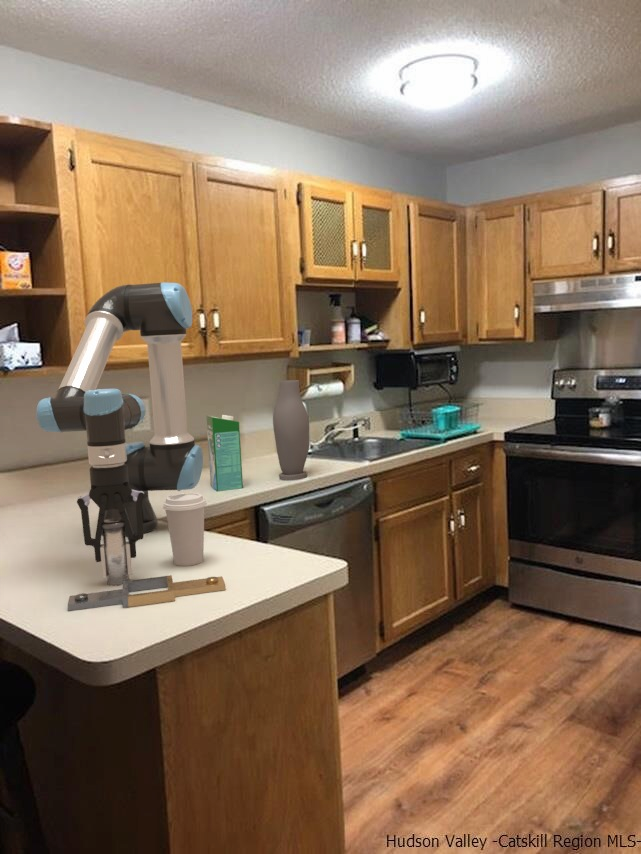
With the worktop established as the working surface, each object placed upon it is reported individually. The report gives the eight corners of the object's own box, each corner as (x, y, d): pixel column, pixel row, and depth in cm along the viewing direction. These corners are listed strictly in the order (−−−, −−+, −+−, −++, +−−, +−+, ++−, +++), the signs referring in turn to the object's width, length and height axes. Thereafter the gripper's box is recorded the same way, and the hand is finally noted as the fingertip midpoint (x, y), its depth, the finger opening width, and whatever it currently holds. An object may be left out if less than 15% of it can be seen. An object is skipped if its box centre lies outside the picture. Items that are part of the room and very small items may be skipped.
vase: (297, 482, 243) (293, 381, 240) (267, 479, 250) (262, 381, 246) (317, 475, 254) (313, 379, 251) (288, 473, 261) (284, 379, 258)
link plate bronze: (128, 590, 141) (128, 580, 141) (221, 578, 146) (220, 569, 145) (128, 607, 132) (127, 596, 132) (227, 593, 136) (226, 583, 136)
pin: (105, 579, 148) (100, 519, 147) (131, 576, 150) (126, 517, 148) (104, 587, 143) (98, 526, 142) (131, 584, 145) (126, 523, 143)
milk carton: (243, 488, 237) (238, 414, 234) (216, 491, 234) (212, 417, 231) (236, 483, 245) (231, 412, 242) (210, 486, 242) (206, 414, 239)
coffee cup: (191, 552, 165) (187, 490, 163) (218, 559, 159) (214, 494, 157) (158, 563, 158) (153, 498, 156) (186, 571, 152) (181, 503, 150)
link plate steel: (71, 597, 138) (70, 587, 138) (167, 585, 143) (166, 575, 143) (66, 615, 129) (65, 605, 129) (169, 601, 134) (168, 591, 133)
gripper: (61, 471, 138) (72, 585, 140) (152, 463, 142) (160, 574, 145) (65, 465, 145) (75, 574, 148) (151, 458, 149) (159, 564, 152)
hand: (117, 574), depth 146 cm, fingers closed on pin, 4 cm apart
